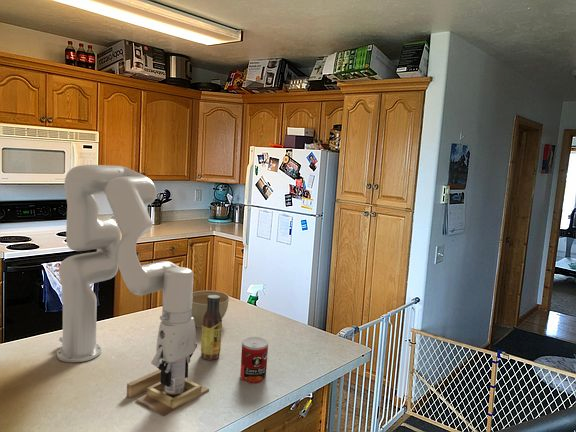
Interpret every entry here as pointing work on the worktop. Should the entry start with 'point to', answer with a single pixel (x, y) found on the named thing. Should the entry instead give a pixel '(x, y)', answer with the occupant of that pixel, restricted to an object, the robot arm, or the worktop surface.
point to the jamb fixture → (162, 393)
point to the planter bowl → (201, 305)
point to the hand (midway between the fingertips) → (174, 379)
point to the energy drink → (176, 377)
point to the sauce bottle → (211, 329)
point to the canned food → (254, 359)
